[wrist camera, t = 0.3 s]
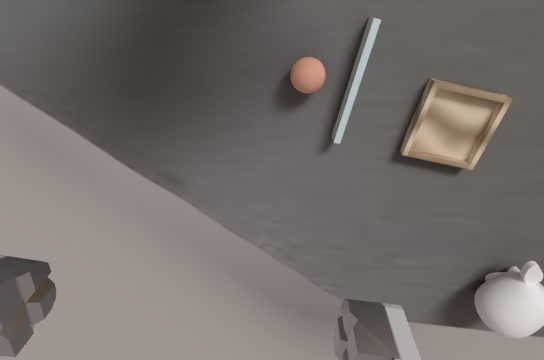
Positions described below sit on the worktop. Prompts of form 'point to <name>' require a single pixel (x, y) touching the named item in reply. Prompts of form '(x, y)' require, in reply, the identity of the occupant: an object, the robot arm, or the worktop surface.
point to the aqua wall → (355, 78)
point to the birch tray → (453, 124)
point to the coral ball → (307, 75)
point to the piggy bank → (512, 301)
